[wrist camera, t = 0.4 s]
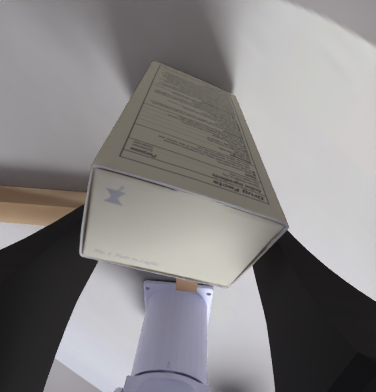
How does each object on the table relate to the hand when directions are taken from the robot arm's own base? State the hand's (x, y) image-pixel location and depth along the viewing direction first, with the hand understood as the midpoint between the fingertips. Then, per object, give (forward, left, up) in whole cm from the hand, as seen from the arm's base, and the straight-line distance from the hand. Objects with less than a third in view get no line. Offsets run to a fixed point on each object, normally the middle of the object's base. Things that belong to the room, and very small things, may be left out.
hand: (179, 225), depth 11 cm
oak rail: (-6, +12, -10) cm, 16 cm away
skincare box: (+4, 0, -9) cm, 10 cm away
